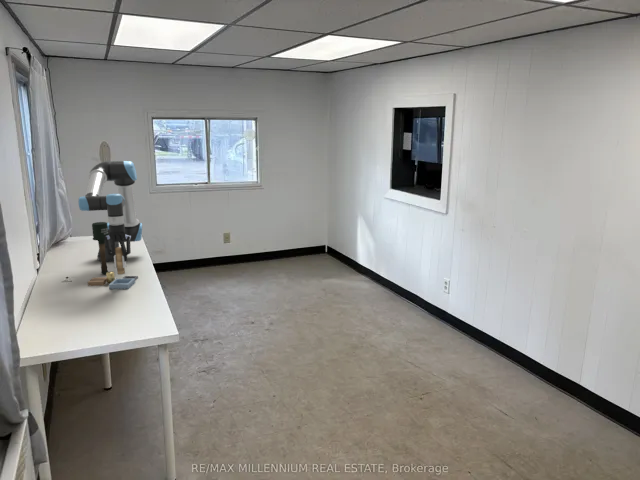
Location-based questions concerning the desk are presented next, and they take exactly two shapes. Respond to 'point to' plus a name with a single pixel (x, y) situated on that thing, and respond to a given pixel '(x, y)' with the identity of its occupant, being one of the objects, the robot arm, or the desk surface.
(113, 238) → the robot arm
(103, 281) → the flat cardboard box
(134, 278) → the holder
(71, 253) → the desk surface
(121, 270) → the dowel
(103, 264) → the stick grenade
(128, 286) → the tray
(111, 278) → the cylinder
